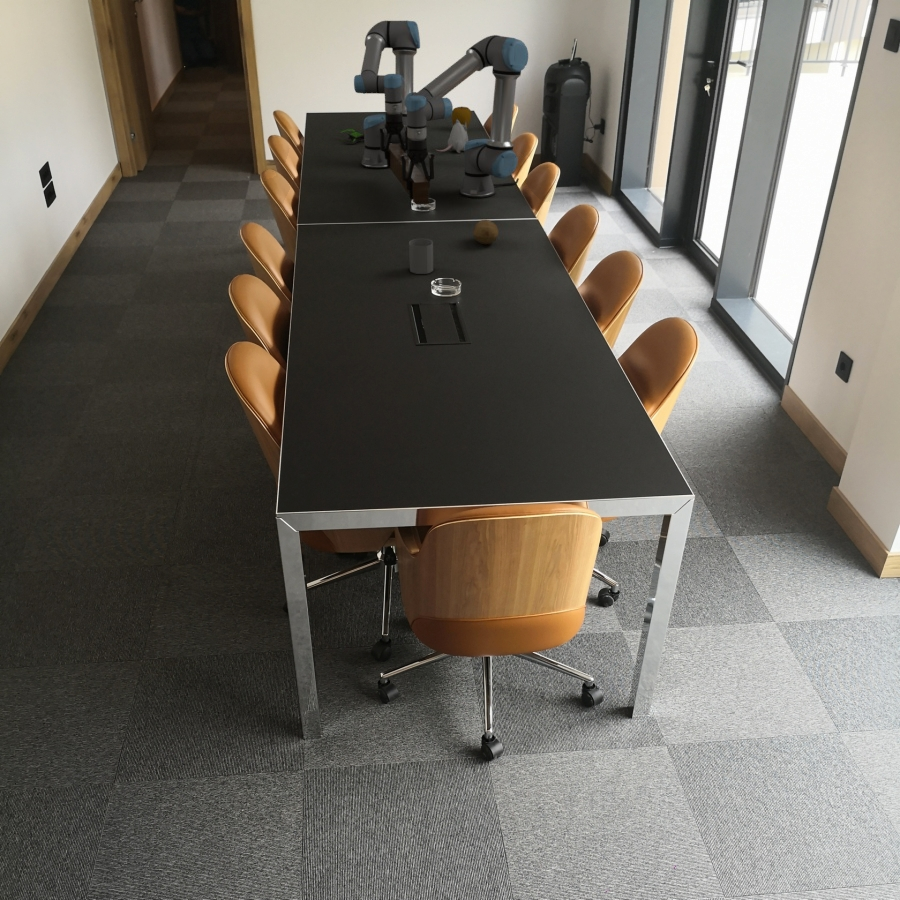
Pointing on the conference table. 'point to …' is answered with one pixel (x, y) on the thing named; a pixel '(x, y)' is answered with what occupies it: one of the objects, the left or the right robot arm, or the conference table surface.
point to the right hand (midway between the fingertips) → (418, 197)
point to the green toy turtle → (353, 136)
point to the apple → (461, 115)
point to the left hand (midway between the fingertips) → (395, 166)
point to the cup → (421, 256)
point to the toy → (457, 138)
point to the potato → (485, 232)
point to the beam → (418, 180)
